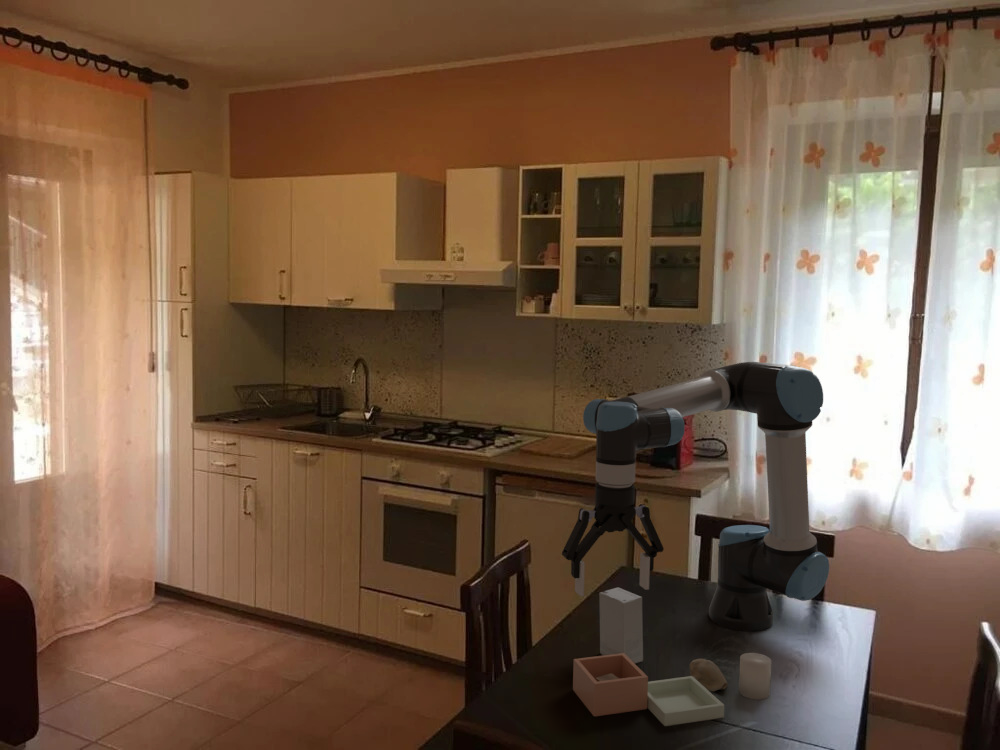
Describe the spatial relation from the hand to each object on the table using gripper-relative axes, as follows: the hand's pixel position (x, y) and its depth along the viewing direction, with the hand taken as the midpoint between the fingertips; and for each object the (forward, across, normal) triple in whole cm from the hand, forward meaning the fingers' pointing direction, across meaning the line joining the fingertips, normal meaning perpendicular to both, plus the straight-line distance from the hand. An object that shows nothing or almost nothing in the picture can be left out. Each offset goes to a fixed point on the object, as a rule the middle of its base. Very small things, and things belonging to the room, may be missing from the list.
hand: (612, 590), depth 167 cm
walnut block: (+22, 0, 0) cm, 22 cm away
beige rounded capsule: (+23, -30, +4) cm, 38 cm away
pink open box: (+23, 0, 0) cm, 23 cm away
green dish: (+23, -12, +6) cm, 26 cm away
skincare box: (+23, -10, -17) cm, 30 cm away
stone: (+23, -22, -2) cm, 32 cm away
